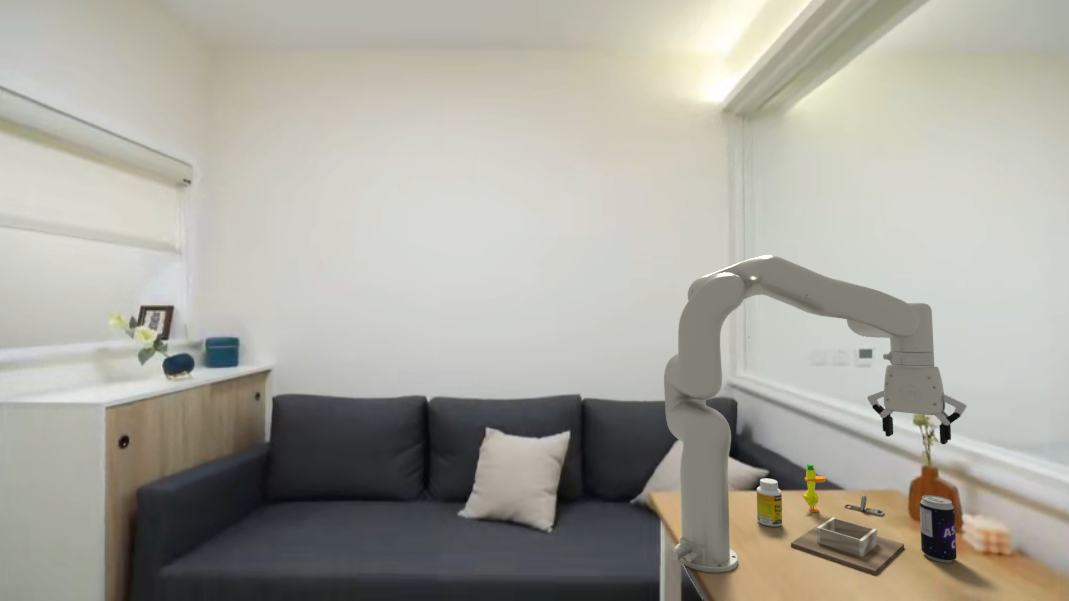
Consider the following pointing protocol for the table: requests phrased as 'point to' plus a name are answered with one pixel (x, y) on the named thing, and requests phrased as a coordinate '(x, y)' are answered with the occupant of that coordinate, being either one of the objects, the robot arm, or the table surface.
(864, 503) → the strap clip
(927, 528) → the beverage can
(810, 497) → the toy figure
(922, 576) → the table surface
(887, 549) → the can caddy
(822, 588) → the table surface
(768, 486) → the supplement bottle
